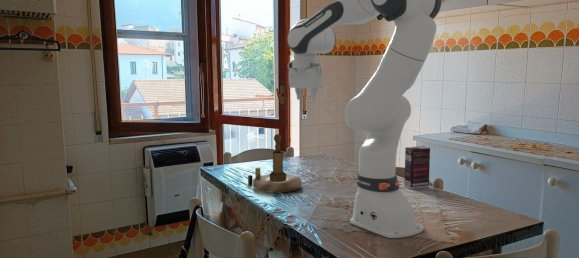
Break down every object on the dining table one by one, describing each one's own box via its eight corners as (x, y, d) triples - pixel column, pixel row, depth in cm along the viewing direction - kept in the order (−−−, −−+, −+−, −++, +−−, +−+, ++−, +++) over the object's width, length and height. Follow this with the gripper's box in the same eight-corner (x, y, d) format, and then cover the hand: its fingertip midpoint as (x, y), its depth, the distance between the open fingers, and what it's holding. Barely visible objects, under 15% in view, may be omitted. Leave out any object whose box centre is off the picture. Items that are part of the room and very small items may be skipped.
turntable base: (298, 189, 160) (298, 179, 160) (263, 194, 153) (263, 184, 153) (280, 180, 173) (280, 171, 172) (248, 184, 166) (247, 175, 166)
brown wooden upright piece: (284, 182, 158) (284, 136, 155) (267, 181, 159) (267, 135, 157) (287, 178, 165) (287, 133, 162) (271, 177, 166) (271, 132, 163)
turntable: (308, 181, 167) (308, 167, 167) (290, 194, 150) (290, 178, 149) (266, 176, 175) (266, 163, 174) (244, 188, 157) (243, 173, 157)
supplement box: (421, 184, 167) (423, 145, 165) (429, 187, 163) (431, 147, 160) (403, 186, 164) (404, 147, 162) (410, 189, 160) (412, 149, 158)
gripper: (327, 62, 149) (328, 101, 151) (299, 64, 167) (299, 98, 168) (313, 62, 146) (313, 101, 148) (285, 64, 164) (286, 99, 165)
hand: (306, 100), depth 158 cm, fingers open, 8 cm apart
